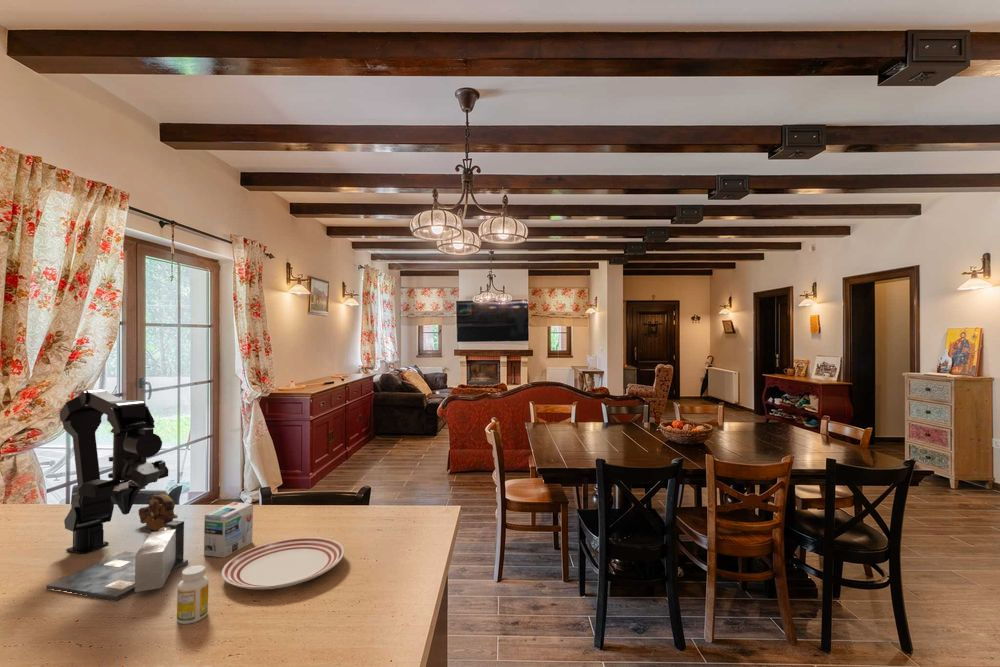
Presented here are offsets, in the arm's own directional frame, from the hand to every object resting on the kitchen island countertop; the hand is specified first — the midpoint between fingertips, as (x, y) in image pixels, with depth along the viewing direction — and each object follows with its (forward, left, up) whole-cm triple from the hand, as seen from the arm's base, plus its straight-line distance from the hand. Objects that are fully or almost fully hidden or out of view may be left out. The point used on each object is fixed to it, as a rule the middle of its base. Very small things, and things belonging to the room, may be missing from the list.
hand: (125, 514), depth 121 cm
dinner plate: (+41, +7, -13) cm, 44 cm away
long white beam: (+15, -4, -11) cm, 19 cm away
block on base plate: (+5, -5, -13) cm, 14 cm away
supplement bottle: (+36, -15, -13) cm, 41 cm away
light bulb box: (+18, +14, -13) cm, 26 cm away
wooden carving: (-13, +20, -13) cm, 27 cm away
